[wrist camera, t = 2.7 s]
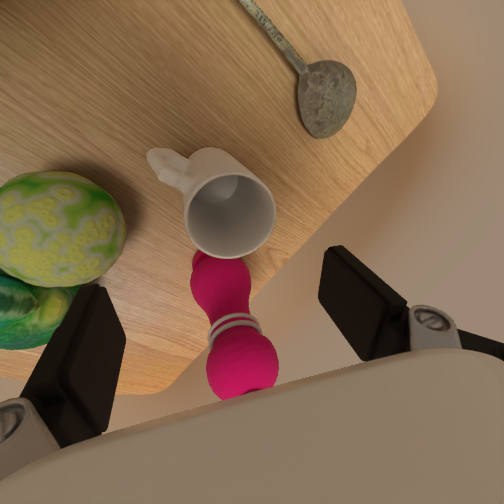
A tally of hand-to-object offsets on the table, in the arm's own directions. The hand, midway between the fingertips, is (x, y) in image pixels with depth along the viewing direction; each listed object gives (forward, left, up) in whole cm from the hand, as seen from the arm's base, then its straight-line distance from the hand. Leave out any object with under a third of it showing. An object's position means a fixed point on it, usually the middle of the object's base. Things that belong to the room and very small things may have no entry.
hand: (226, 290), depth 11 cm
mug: (-1, -1, -20) cm, 20 cm away
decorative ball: (+12, +2, -20) cm, 23 cm away
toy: (+20, +14, -20) cm, 31 cm away
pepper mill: (-1, +12, -20) cm, 23 cm away
